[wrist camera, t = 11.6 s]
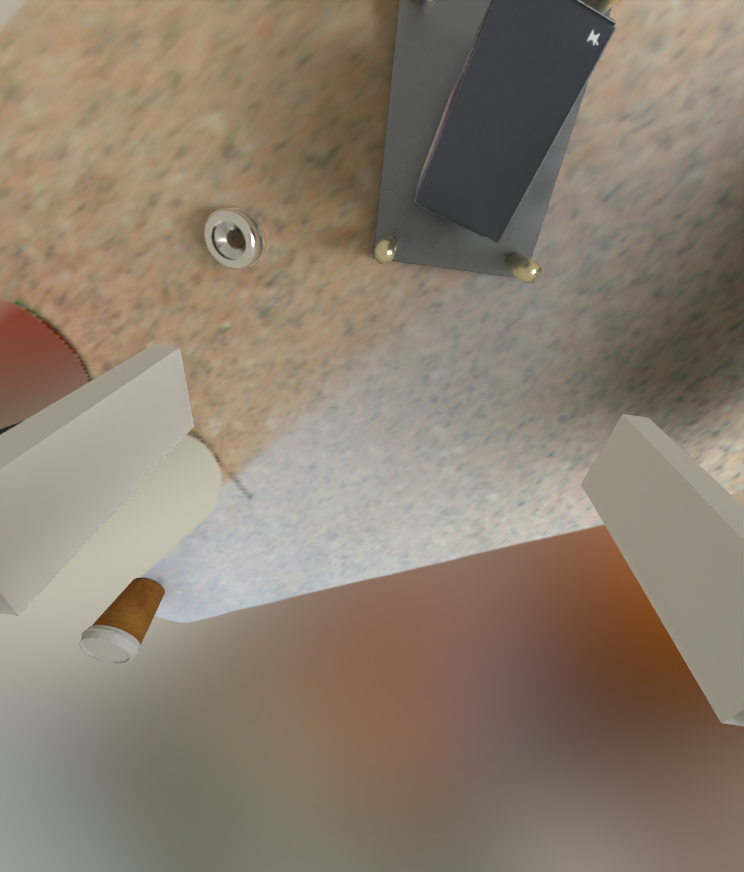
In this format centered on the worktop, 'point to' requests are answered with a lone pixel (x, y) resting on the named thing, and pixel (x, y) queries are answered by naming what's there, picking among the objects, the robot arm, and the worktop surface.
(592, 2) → the chassis
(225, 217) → the metal grooved wheel
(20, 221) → the worktop surface
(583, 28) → the small box
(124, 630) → the disposable coffee cup
